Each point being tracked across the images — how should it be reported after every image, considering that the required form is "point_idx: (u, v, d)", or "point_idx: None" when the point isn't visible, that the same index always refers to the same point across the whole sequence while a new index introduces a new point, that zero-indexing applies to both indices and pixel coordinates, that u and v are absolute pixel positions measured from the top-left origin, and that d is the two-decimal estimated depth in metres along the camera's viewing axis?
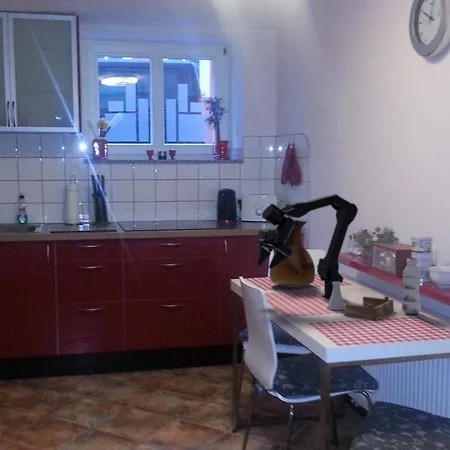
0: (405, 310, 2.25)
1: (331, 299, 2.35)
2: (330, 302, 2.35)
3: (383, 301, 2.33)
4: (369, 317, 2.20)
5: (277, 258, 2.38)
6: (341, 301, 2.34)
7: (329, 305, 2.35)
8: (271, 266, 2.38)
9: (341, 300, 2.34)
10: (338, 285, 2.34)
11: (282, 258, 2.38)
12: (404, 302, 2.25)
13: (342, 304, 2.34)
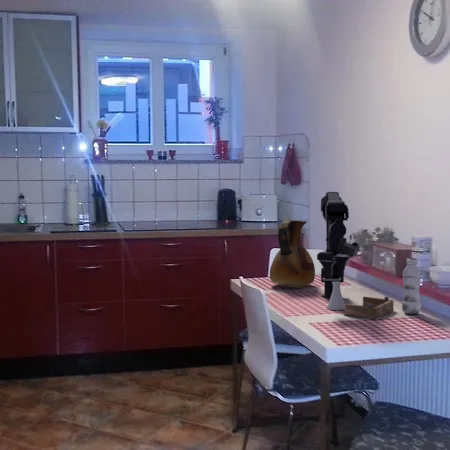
0: (405, 310, 2.25)
1: (331, 299, 2.35)
2: (330, 302, 2.35)
3: (383, 301, 2.33)
4: (369, 317, 2.20)
5: None
6: (341, 301, 2.34)
7: (329, 305, 2.35)
8: None
9: (341, 300, 2.34)
10: (338, 285, 2.34)
11: None
12: (404, 302, 2.25)
13: (342, 304, 2.34)
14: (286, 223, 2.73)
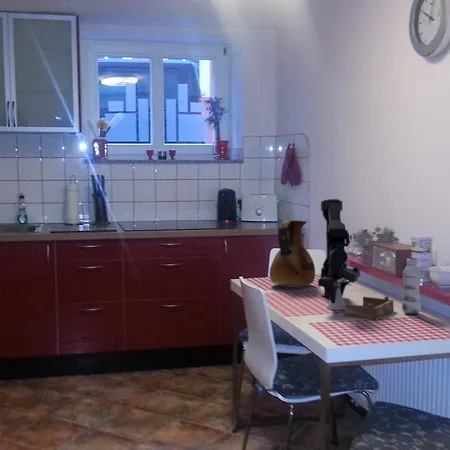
0: (405, 310, 2.25)
1: None
2: (330, 302, 2.35)
3: (383, 301, 2.33)
4: (369, 317, 2.20)
5: None
6: (341, 300, 2.34)
7: (329, 305, 2.35)
8: None
9: (341, 300, 2.34)
10: (338, 285, 2.34)
11: None
12: (404, 302, 2.25)
13: (342, 304, 2.34)
14: (286, 223, 2.73)
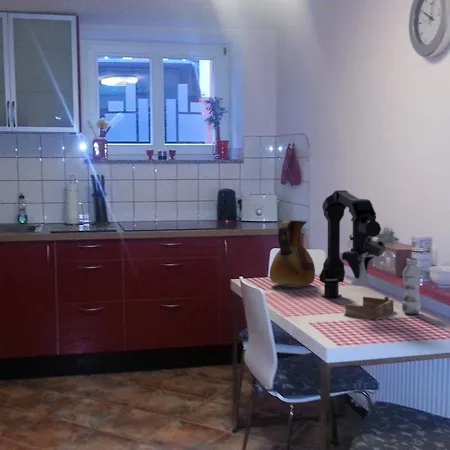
0: (405, 310, 2.25)
1: None
2: (354, 278, 2.28)
3: (383, 301, 2.33)
4: (369, 317, 2.20)
5: None
6: (365, 276, 2.27)
7: (353, 281, 2.28)
8: None
9: (365, 276, 2.27)
10: None
11: None
12: (404, 302, 2.25)
13: (366, 280, 2.27)
14: (286, 223, 2.73)
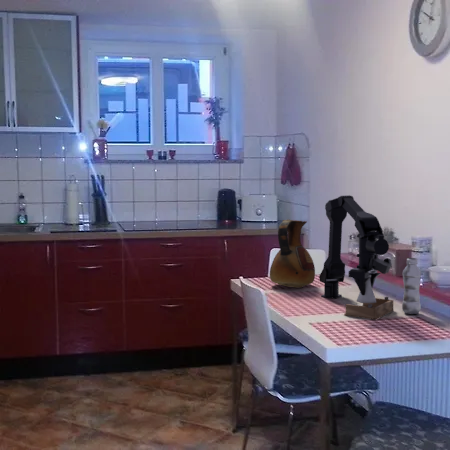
0: (405, 310, 2.25)
1: None
2: (360, 295, 2.28)
3: (383, 301, 2.33)
4: (369, 317, 2.20)
5: None
6: (371, 293, 2.27)
7: (359, 298, 2.28)
8: None
9: (371, 293, 2.27)
10: None
11: None
12: (404, 302, 2.25)
13: (373, 297, 2.27)
14: (286, 223, 2.73)
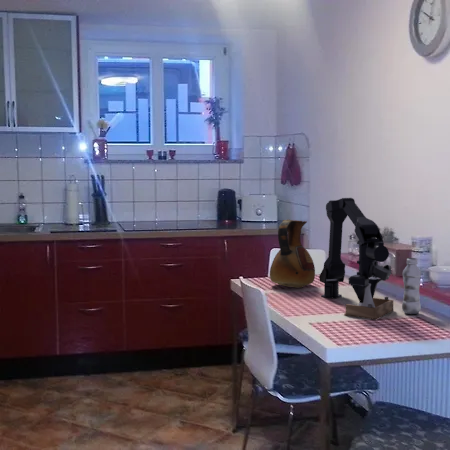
0: (405, 310, 2.25)
1: None
2: (360, 304, 2.28)
3: (383, 301, 2.33)
4: (369, 317, 2.20)
5: None
6: (371, 303, 2.27)
7: None
8: None
9: (371, 302, 2.27)
10: (368, 287, 2.27)
11: None
12: (404, 302, 2.25)
13: (372, 306, 2.27)
14: (286, 223, 2.73)
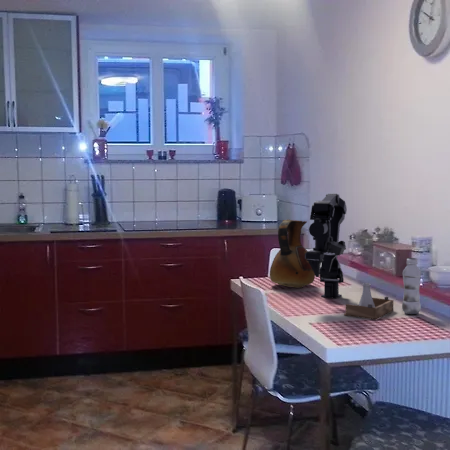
0: (405, 310, 2.25)
1: (361, 301, 2.28)
2: (360, 304, 2.28)
3: (383, 301, 2.33)
4: (369, 317, 2.20)
5: None
6: (371, 303, 2.27)
7: None
8: None
9: (371, 302, 2.27)
10: (368, 287, 2.27)
11: None
12: (404, 302, 2.25)
13: (372, 306, 2.27)
14: (286, 223, 2.73)
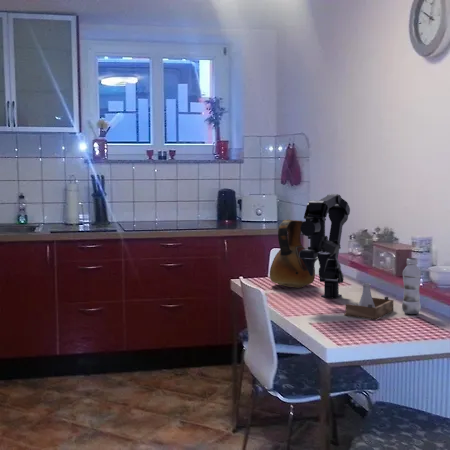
0: (405, 310, 2.25)
1: (361, 301, 2.28)
2: (360, 304, 2.28)
3: (383, 301, 2.33)
4: (369, 317, 2.20)
5: None
6: (371, 303, 2.27)
7: None
8: None
9: (371, 302, 2.27)
10: (368, 287, 2.27)
11: None
12: (404, 302, 2.25)
13: (372, 306, 2.27)
14: (286, 223, 2.73)
